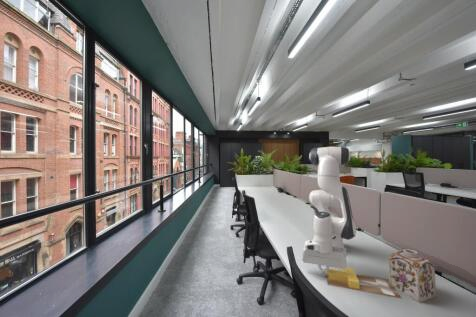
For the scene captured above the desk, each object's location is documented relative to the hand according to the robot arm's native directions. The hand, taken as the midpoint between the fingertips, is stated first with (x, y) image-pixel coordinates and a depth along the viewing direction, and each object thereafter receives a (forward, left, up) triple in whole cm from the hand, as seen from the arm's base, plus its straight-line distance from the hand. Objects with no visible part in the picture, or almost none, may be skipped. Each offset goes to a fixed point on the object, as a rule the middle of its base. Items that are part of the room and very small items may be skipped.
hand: (323, 273), depth 96 cm
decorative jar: (-2, +36, -3) cm, 36 cm away
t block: (0, +8, -1) cm, 8 cm away
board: (0, +15, -2) cm, 15 cm away
